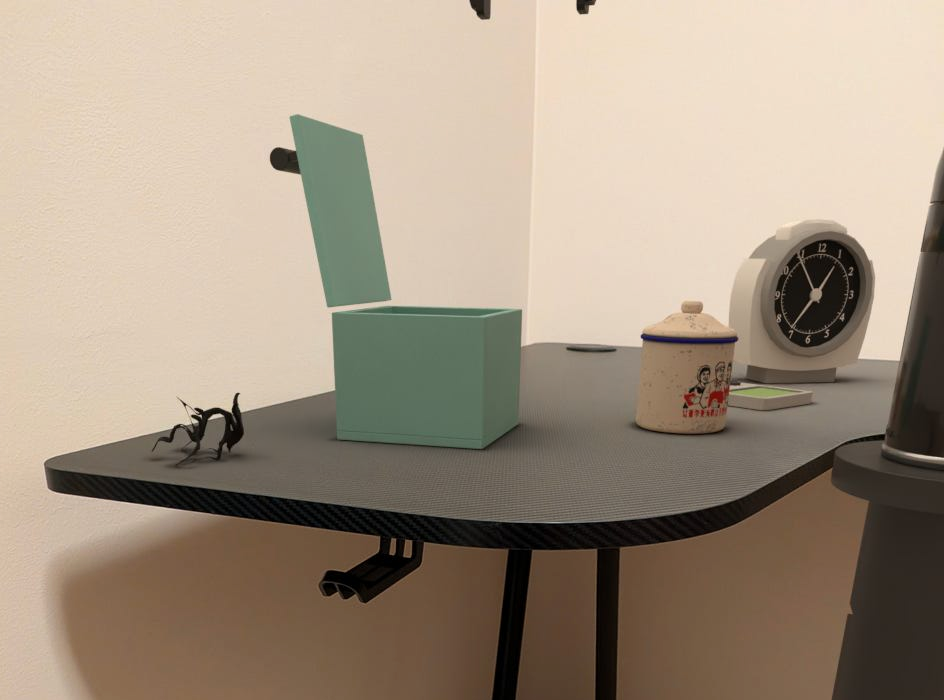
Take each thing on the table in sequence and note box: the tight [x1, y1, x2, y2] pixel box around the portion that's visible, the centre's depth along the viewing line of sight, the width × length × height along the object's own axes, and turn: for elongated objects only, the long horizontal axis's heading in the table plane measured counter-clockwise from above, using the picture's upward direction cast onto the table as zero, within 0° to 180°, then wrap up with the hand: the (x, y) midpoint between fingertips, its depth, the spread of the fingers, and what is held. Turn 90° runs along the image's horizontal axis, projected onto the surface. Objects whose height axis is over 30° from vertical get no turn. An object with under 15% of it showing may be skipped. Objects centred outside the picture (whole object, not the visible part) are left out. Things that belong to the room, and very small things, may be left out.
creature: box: [150, 392, 245, 467], centre depth 73 cm, size 8×5×8 cm
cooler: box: [331, 305, 523, 450], centre depth 84 cm, size 14×14×11 cm
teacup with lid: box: [635, 300, 738, 435], centre depth 88 cm, size 12×9×12 cm
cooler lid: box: [269, 113, 392, 309], centre depth 82 cm, size 15×14×5 cm
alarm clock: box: [728, 218, 876, 384], centre depth 122 cm, size 18×8×20 cm, turn 104°
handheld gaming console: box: [728, 379, 814, 411], centre depth 108 cm, size 10×2×15 cm
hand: (532, 15), depth 76 cm, fingers open, 8 cm apart
